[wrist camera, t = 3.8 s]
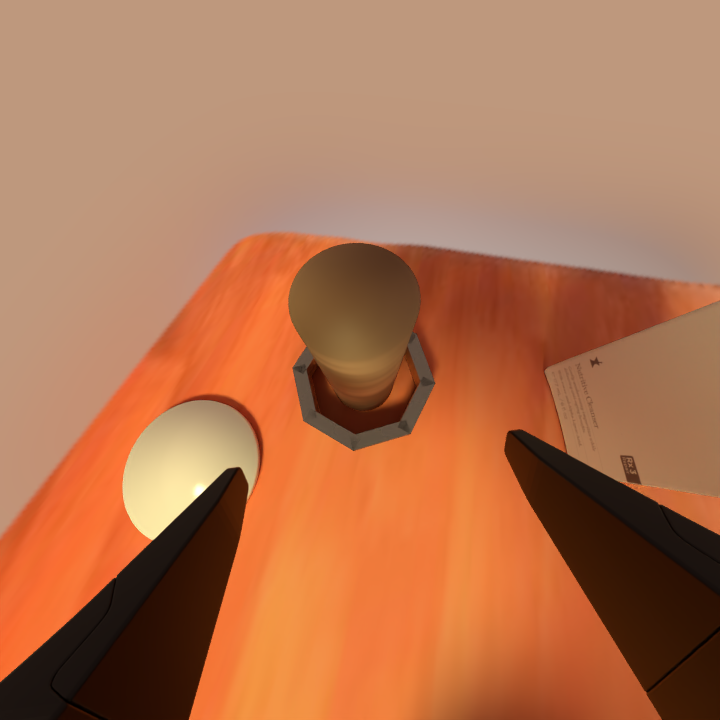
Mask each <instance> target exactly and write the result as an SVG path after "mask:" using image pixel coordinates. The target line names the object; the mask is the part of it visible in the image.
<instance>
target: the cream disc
mask: <svg viewBox="0 0 720 720" xmlns="http://www.w3.org/2000/svg"><path fill="white" fill-rule="evenodd" d="M233 467H240V468H241V469H242V470H243V473H244V475H245V477H246V479H247V482H248V485H249V490H248V496H247V502H248V500H249V499H250V497H251V495H252V493H253V490H254V488H255V485H256V482H257V479H258V475H259V469H260V448H259V443H258V439H257V436H256V433H255V431H254V429H253V427H252V425H251V424H250V423H249V421H248V420H247V419H246V418H245V417H244V416H243V415H242V414H241V413H240V412H239V411H237V410H236V409H234V408H232V407H231V406H229V405H226V404H223V403H220V402H216V401H211V400H196V401H190V402H186V403H183V404H180V405H177V406H175V407H173V408H171V409H169V410H167V411H166V412H164V413H163V414H161V415H160V416H159V417H157V418H156V419H155V420H154V421H153V422H152V423H151V424H149V425H148V427H147V428H146V429H145V430H144V431H143V432H142V434H141V435H140V436H139V438H138V439H137V441H136V443H135V444H134V446H133V448H132V450H131V452H130V455H129V457H128V460H127V463H126V466H125V470H124V476H123V498H124V504H125V507H126V510H127V513H128V515H129V517H130V519H131V521H132V522H133V524H134V525H135V526H136V528H137V529H138V530H139V531H140V532H141V533H142V534H144V535H145V536H147V537H148V538H150V539H151V540H154V539H155V538H156V537H157V536H158V535H159V534H160V533H161V532H162V531H163V530H164V529H165V528H166V527H167V526H168V525H169V524H170V523H171V522H172V521H173V520H174V519H175V518H176V517H177V516H179V515H180V514H181V513H182V512H183V511H184V510H185V509H186V508H187V507H188V506H189V505H190V504H191V503H192V502H193V501H194V500H195V499H196V498H197V497H198V496H199V495H200V494H201V493H202V492H203V491H204V490H205V489H206V488H207V487H208V486H209V485H210V484H211V483H212V482H214V481H215V480H216V479H217V478H218V477H219V476H220V475H221V474H222V473H223V472H224V471H225V470H226V469H228V468H233ZM247 502H246V504H247Z"/></svg>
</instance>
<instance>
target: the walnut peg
mask: <svg viewBox="0 0 720 720" xmlns="http://www.w3.org/2000/svg"><path fill="white" fill-rule="evenodd" d="M420 303H421V300H420V289H419V285H418V282H417V279H416V277H415V275H414V273H413V272H412V270H411V269H410V268H409V266H408V265H407V264H406V263H405V262H404V261H403V260H402V259H401V258H400V257H398V256H397V255H395V254H394V253H392V252H390V251H388V250H386V249H384V248H381V247H379V246H375V245H371V244H364V243H349V244H342V245H337V246H334V247H331V248H328V249H326V250H324V251H322V252H320V253H318V254H317V255H315V256H314V257H312V258H311V259H310V260H309V261H308V262H307V263H306V264H304V266H303V267H302V268H301V269H300V270H299V272H298V273H297V275H296V277H295V278H294V281H293V283H292V285H291V289H290V293H289V313H290V317H291V320H292V323H293V325H294V327H295V329H296V330H297V332H298V334H299V335H300V337H301V338H302V340H303V342H304V343H305V345H306V346H307V348H308V350H309V351H310V353H311V354H312V356H313V358H314V359H315V361H316V362H317V364H318V366H319V367H320V369H321V370H322V372H323V374H324V375H325V377H326V378H327V380H328V382H329V383H330V385H331V386H332V388H333V390H334V391H335V393H336V394H337V396H338V398H339V399H340V400H341V402H342V403H343V404H345V405H346V406H347V407H349V408H351V409H354V410H358V411H369V410H373V409H375V408H377V407H379V406H380V405H382V404H383V403H384V402H385V401H386V400H387V398H388V397H389V395H390V393H391V390H392V387H393V384H394V381H395V379H396V376H397V373H398V370H399V367H400V365H401V362H402V359H403V356H404V353H405V351H406V348H407V345H408V342H409V339H410V337H411V334H412V331H413V328H414V325H415V323H416V320H417V317H418V313H419V310H420Z"/></svg>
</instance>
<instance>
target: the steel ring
mask: <svg viewBox="0 0 720 720" xmlns="http://www.w3.org/2000/svg"><path fill="white" fill-rule="evenodd" d="M404 355H405V358H406V361H407V363H408V366H409V369H410V372H411V375H412V377H413V380H414V383H415V386H416V389H415V391H414V393H413V394H412V396H411V398H410V400H409V402H408V404H407V406H406V408H405V410H404V412H403V414H402V416H401V418H400V420H399V422H396V423H393V424H390V425H386V426H383V427H379V428H376V429H372V430H369V431H366V432H362V433H359V434H354V433H352V432H350V431H348V430H347V429H345V428H343V427H342V426H340V425H338V424H336V423H335V422H333V421H331V420H330V419H328V418H326V417H324V416H323V415H321V414H320V410H319V405H318V401H317V397H316V392H315V388H314V383H313V379H312V375H313V373H314V372H315V370H316V369H317V367H318V364H317V362H316V361H315V359H314V358H313V356H312V354H311V353H310V351H309V350H308V348H307V347H306V348H305V350H304V351H303V353H302V354H301V356H300V357H299V359H298V360H297V362H296V363H295V365H294V366H293V372H294V377H295V382H296V387H297V392H298V396H299V401H300V406H301V411H302V416H303V421H304V422H306V423H308V424H310V425H311V426H313V427H315V428H316V429H318V430H320V431H321V432H323V433H325V434H326V435H328V436H330V437H331V438H333V439H335V440H336V441H338V442H340V443H341V444H343V445H345V446H346V447H348V448H350V449H351V450H353V451H355V450H358V449H362V448H365V447H368V446H372V445H375V444H378V443H382V442H385V441H389V440H392V439H395V438H399V437H402V436H406V435H409V434H411V432H412V430H413V428H414V426H415V424H416V421H417V419H418V417H419V415H420V413H421V411H422V409H423V407H424V405H425V403H426V401H427V399H428V397H429V395H430V393H431V391H432V389H433V387H434V385H435V381H434V379H433V376H432V373H431V371H430V368H429V366H428V363H427V360H426V358H425V355H424V352H423V350H422V347H421V345H420V342H419V339H418V337H417V334H416V333H414V332H412V334H411V337H410V339H409V342H408V345H407V348H406V351H405V353H404Z"/></svg>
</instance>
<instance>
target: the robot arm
mask: <svg viewBox="0 0 720 720" xmlns="http://www.w3.org/2000/svg"><path fill="white" fill-rule="evenodd" d="M504 451H505V455H506V457H507V459H508V461H509V463H510V465H511V467H512V470H513V472H514V474H515V476H516V478H517V480H518V482H519V484H520V486H521V488H522V490H523V492H524V494H525V496H526V498H527V500H528V502H529V503H530V505H531V507H532V508H533V510H534V512H535V513H536V515H537V516H538V518H539V520H540V521H541V523H542V525H543V526H544V528H545V529H546V531H547V533H548V534H549V536H550V538H551V539H552V541H553V542H554V544H555V546H556V547H557V549H558V551H559V552H560V554H561V555H562V557H563V559H564V560H565V562H566V564H567V565H568V567H569V568H570V570H571V572H572V573H573V575H574V577H575V578H576V580H577V581H578V583H579V585H580V586H581V588H582V590H583V591H584V593H585V594H586V596H587V598H588V599H589V601H590V603H591V604H592V606H593V608H594V609H595V611H596V612H597V614H598V616H599V617H600V619H601V621H602V622H603V624H604V625H605V627H606V629H607V630H608V632H609V634H610V635H611V637H612V638H613V640H614V642H615V643H616V645H617V647H618V648H619V650H620V651H621V653H622V655H623V656H624V658H625V660H626V661H627V663H628V664H629V666H630V668H631V669H632V671H633V673H634V674H635V676H636V677H637V679H638V681H639V682H640V684H641V686H642V687H643V689H644V690H645V691H646V692H647V696H648V697H649V699H650V701H651V702H652V704H653V706H654V707H655V709H656V710H657V712H658V714H659V715H660V717H661V719H662V720H720V535H718V534H716V533H714V532H712V531H710V530H709V529H707V528H705V527H703V526H701V525H699V524H697V523H695V522H693V521H691V520H689V519H687V518H686V517H684V516H682V515H680V514H678V513H676V512H674V511H672V510H671V509H669V508H667V507H665V506H663V505H659V504H658V503H657V502H656V501H654V500H652V499H650V498H648V497H646V496H644V495H643V494H641V493H639V492H637V491H635V490H633V489H631V488H629V487H628V486H626V485H624V484H622V483H620V482H618V481H616V480H615V479H613V478H611V477H609V476H607V475H605V474H603V473H602V472H600V471H598V470H596V469H594V468H592V467H590V466H589V465H587V464H585V463H583V462H581V461H579V460H577V459H576V458H574V457H572V456H570V455H568V454H566V453H564V452H563V451H561V450H559V449H557V448H555V447H553V446H551V445H550V444H548V443H546V442H544V441H542V440H540V439H538V438H537V437H535V436H533V435H531V434H529V433H527V432H525V431H523V430H520V429H518V430H511V431H508V433H507V436H506V442H505V448H504ZM248 490H249V485H248V482H247V479H246V477H245V475H244V473H243V470H242V469H241V468H240V467H233V468H228V469H226V470H225V471H224V472H223V473H222V474H221V475H220V476H219V477H218V478H217V479H216V480H215V481H214V482H212V483H211V484H210V485H209V486H208V487H207V488H206V489H205V490H204V491H203V492H202V493H201V494H200V495H199V496H198V497H197V498H196V499H195V500H194V501H193V502H192V503H191V504H190V505H189V506H188V507H187V508H186V509H185V510H184V511H183V512H182V513H181V514H180V515H179V516H177V517H176V518H175V519H174V520H173V521H172V522H171V523H170V524H169V525H168V526H167V527H166V528H165V529H164V530H163V531H162V532H161V533H160V534H159V535H158V536H157V537H156V538H155V539H154V540H153V541H152V542H151V543H150V544H149V545H148V546H147V547H146V548H145V549H144V550H142V551H141V552H140V553H139V554H138V555H137V556H136V557H135V558H134V559H133V560H132V561H131V562H130V563H129V564H128V565H127V566H126V567H125V568H124V569H123V570H122V571H121V572H120V573H119V574H118V575H117V577H116V578H114V579H113V580H111V581H110V582H109V583H108V584H107V585H106V586H105V587H104V588H103V589H102V590H101V591H100V592H99V593H98V594H97V595H96V596H95V597H94V598H93V599H92V600H91V601H90V602H89V603H88V604H86V605H85V606H84V607H83V608H82V609H81V610H80V611H79V612H78V613H77V614H76V615H75V616H74V617H73V618H72V619H71V620H69V621H68V622H67V623H66V624H65V625H64V626H63V627H62V628H61V629H60V630H58V631H57V632H56V633H55V634H54V635H53V636H52V637H51V638H50V639H48V640H47V641H46V642H45V643H44V644H43V645H42V646H41V647H40V648H38V649H37V650H36V651H35V652H34V653H33V654H32V655H31V656H29V657H28V658H27V659H26V660H25V661H24V662H23V663H21V664H20V665H19V666H18V667H17V668H16V669H15V670H14V671H12V672H11V673H10V674H9V675H8V676H7V677H6V678H5V679H3V680H2V681H1V682H0V720H189V717H190V714H191V710H192V707H193V703H194V699H195V696H196V692H197V689H198V685H199V682H200V678H201V675H202V671H203V668H204V664H205V660H206V657H207V653H208V650H209V646H210V643H211V639H212V636H213V632H214V629H215V625H216V621H217V618H218V614H219V611H220V607H221V604H222V600H223V597H224V593H225V590H226V586H227V583H228V579H229V575H230V572H231V568H232V565H233V561H234V558H235V554H236V551H237V547H238V543H239V539H240V535H241V530H242V524H243V518H244V513H245V507H246V502H247V496H248Z"/></svg>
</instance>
